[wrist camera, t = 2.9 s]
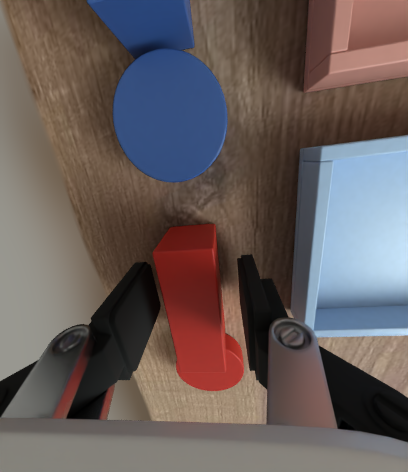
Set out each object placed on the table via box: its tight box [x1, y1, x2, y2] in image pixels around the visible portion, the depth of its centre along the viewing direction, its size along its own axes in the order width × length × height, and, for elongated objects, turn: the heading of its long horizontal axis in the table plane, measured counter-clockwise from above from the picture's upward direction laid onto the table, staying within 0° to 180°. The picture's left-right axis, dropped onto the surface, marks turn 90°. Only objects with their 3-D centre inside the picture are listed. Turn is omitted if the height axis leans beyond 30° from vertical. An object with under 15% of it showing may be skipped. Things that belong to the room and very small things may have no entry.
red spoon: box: [153, 224, 244, 391], centre depth 11 cm, size 12×4×3 cm, turn 6°
